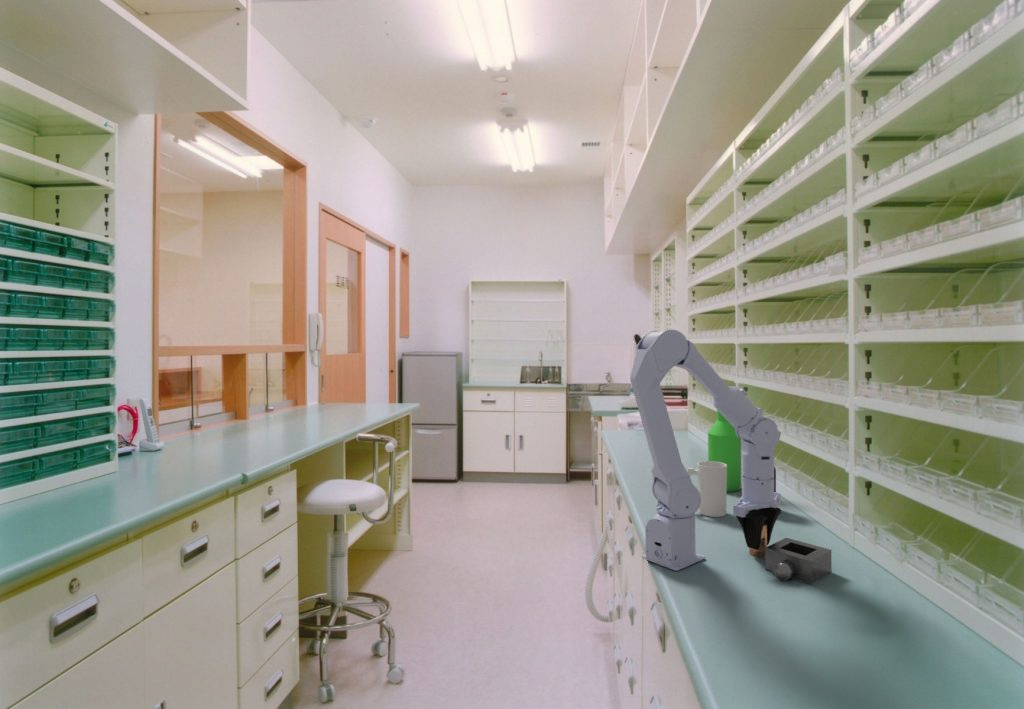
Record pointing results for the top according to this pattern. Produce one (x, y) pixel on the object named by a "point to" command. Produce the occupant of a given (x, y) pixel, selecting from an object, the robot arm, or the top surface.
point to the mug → (711, 487)
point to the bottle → (726, 450)
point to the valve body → (797, 561)
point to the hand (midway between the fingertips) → (758, 545)
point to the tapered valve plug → (763, 544)
